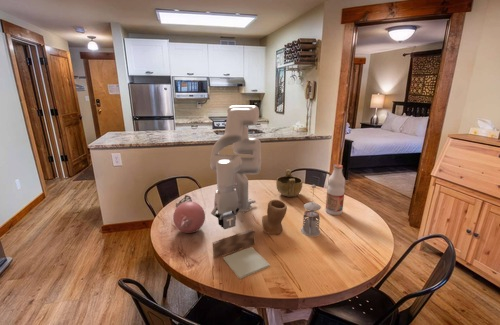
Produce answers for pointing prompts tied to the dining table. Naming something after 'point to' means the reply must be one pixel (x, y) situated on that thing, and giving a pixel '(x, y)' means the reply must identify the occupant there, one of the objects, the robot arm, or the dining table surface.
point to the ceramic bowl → (289, 185)
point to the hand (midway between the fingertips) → (227, 223)
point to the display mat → (246, 262)
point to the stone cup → (274, 217)
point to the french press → (311, 219)
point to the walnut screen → (233, 243)
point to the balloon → (189, 217)
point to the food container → (184, 200)
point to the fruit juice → (335, 191)
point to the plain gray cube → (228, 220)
